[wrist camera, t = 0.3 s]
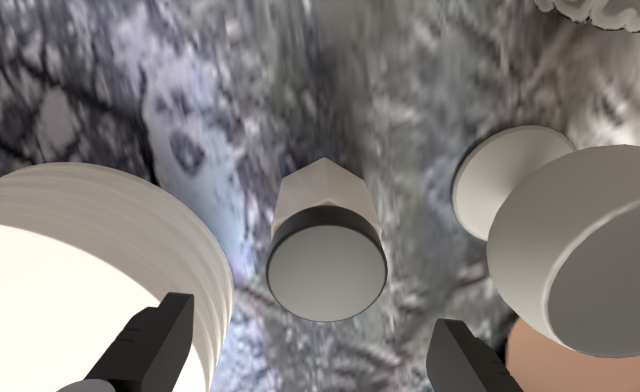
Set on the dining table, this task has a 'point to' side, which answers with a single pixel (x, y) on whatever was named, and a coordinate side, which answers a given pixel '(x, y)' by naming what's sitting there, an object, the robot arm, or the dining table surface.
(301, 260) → the jar
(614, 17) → the brain slice
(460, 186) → the chalice
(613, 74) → the dining table surface
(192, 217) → the plate stack
